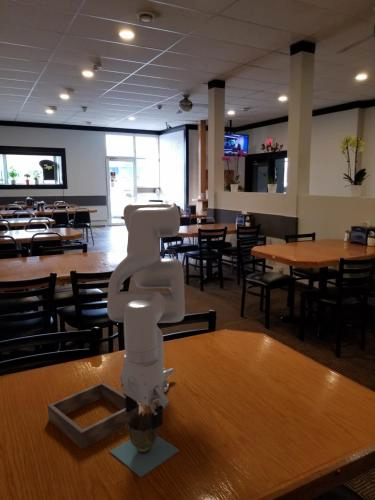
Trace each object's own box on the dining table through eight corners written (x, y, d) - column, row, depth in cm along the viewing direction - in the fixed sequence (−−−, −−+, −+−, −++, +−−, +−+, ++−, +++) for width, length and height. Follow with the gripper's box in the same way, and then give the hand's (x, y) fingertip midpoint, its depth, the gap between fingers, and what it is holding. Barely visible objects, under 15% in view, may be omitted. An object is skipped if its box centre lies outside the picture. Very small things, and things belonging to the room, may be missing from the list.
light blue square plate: (147, 430, 102) (147, 429, 102) (179, 451, 94) (179, 449, 94) (109, 452, 94) (109, 451, 94) (141, 477, 86) (140, 475, 85)
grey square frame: (103, 395, 120) (102, 381, 120) (139, 418, 108) (138, 403, 107) (48, 420, 108) (47, 405, 107) (82, 449, 95) (81, 432, 94)
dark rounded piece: (153, 462, 90) (153, 431, 88) (124, 458, 91) (122, 427, 90) (162, 442, 97) (161, 412, 96) (134, 438, 98) (133, 409, 97)
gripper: (107, 346, 93) (110, 410, 97) (153, 370, 82) (155, 442, 85) (131, 337, 99) (133, 397, 102) (178, 358, 87) (179, 426, 90)
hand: (143, 417), depth 93 cm, fingers open, 9 cm apart
